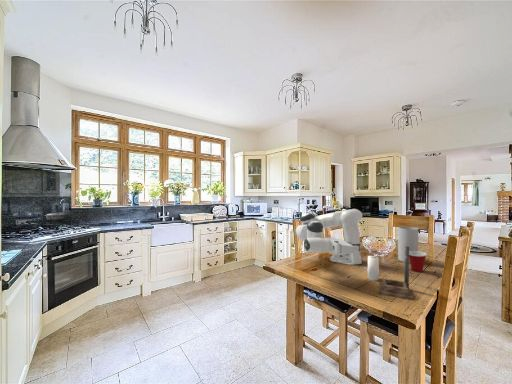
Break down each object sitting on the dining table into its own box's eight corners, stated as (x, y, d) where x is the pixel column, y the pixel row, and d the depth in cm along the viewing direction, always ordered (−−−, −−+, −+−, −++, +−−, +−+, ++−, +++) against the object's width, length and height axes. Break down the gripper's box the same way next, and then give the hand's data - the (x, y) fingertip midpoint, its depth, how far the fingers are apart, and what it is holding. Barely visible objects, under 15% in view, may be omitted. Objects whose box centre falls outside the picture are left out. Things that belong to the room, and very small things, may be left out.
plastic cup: (402, 268, 156) (403, 250, 156) (417, 267, 157) (417, 250, 157) (415, 274, 146) (415, 255, 145) (431, 273, 146) (431, 254, 146)
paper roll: (367, 279, 136) (367, 257, 136) (367, 276, 142) (367, 255, 142) (378, 281, 134) (379, 259, 134) (378, 277, 139) (378, 256, 139)
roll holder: (380, 294, 118) (380, 249, 117) (379, 283, 130) (379, 243, 130) (412, 299, 111) (413, 252, 111) (408, 288, 124) (408, 246, 124)
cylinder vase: (416, 264, 163) (416, 230, 163) (396, 261, 172) (396, 228, 171) (419, 260, 172) (419, 227, 172) (400, 257, 181) (400, 226, 181)
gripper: (326, 245, 147) (347, 246, 148) (338, 255, 127) (362, 255, 127) (326, 236, 147) (347, 236, 148) (338, 244, 127) (363, 244, 127)
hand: (354, 245), depth 137 cm, fingers open, 8 cm apart
